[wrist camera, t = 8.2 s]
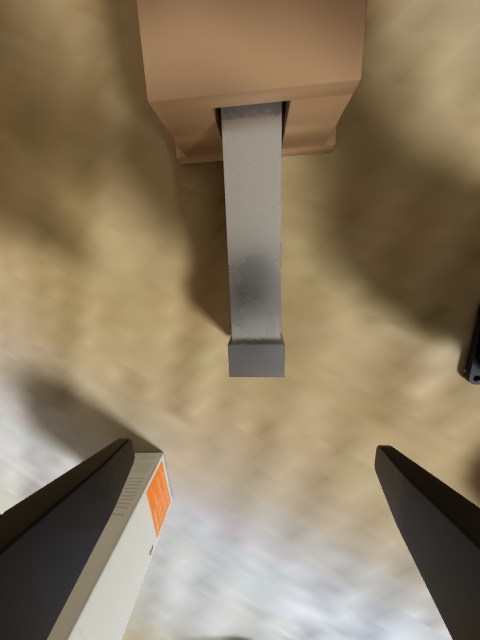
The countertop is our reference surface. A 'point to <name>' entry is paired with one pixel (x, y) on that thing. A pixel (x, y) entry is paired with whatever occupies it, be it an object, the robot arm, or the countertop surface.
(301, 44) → the block
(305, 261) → the countertop surface
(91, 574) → the skincare box
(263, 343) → the shaft
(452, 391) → the countertop surface
